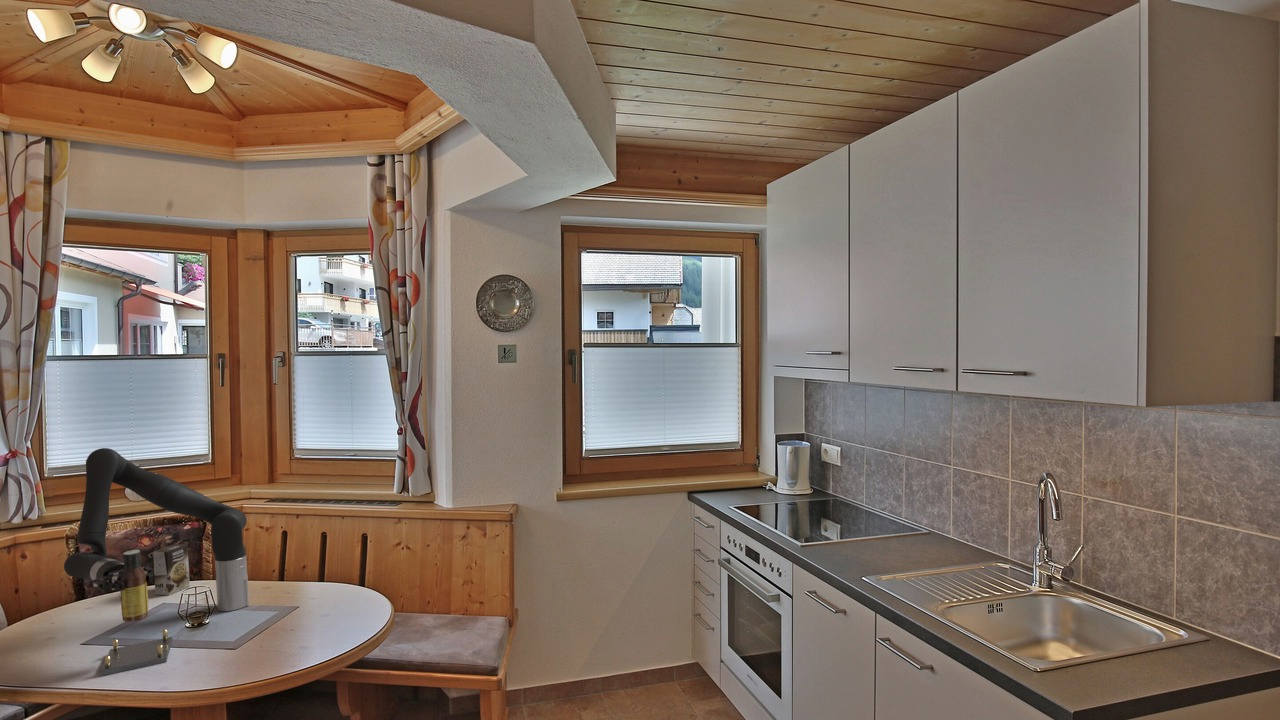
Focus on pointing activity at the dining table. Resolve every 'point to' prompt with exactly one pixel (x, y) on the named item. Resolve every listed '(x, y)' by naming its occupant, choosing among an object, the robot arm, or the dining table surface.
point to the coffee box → (171, 569)
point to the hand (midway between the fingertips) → (137, 583)
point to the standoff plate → (136, 655)
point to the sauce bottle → (133, 588)
